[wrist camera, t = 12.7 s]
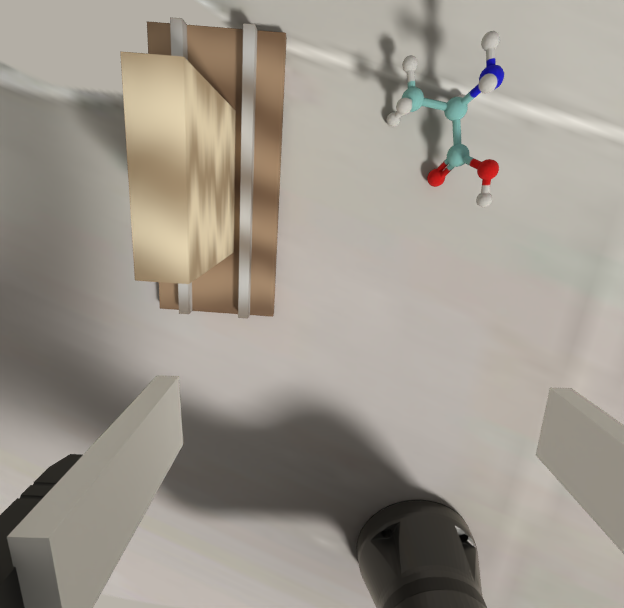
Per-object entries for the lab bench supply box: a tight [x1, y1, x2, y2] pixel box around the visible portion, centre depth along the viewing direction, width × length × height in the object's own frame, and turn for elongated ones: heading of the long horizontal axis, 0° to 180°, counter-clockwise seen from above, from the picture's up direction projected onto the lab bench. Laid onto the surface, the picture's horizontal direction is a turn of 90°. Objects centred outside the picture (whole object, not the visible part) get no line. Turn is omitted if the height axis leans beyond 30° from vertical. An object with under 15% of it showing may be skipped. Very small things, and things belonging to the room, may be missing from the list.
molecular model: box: [387, 31, 504, 207], centre depth 32 cm, size 12×10×10 cm
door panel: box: [121, 52, 236, 284], centre depth 29 cm, size 13×4×14 cm, turn 176°
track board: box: [147, 18, 286, 318], centre depth 36 cm, size 26×12×2 cm, turn 176°
